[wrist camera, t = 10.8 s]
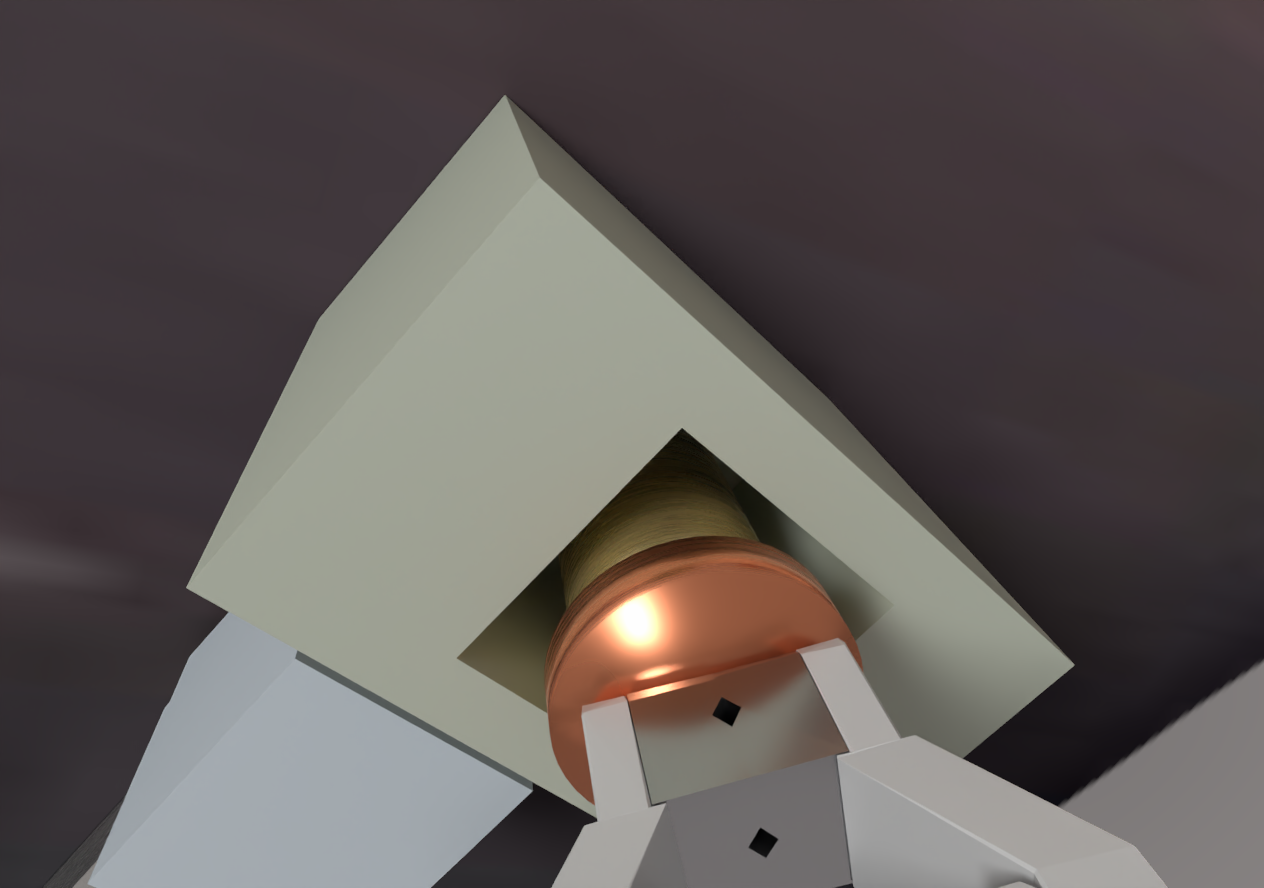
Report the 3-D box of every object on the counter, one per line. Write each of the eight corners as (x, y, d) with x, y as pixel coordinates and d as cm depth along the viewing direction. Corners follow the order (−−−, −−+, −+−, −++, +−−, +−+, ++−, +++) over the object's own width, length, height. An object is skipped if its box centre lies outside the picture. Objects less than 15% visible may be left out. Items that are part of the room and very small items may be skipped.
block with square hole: (666, 575, 23) (789, 925, 14) (318, 319, 19) (185, 588, 10) (838, 407, 22) (1089, 677, 13) (504, 94, 18) (539, 177, 9)
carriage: (364, 749, 23) (331, 981, 18) (187, 655, 21) (87, 884, 16) (516, 593, 22) (532, 790, 17) (343, 478, 20) (295, 658, 15)
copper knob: (634, 607, 16) (707, 870, 11) (476, 496, 15) (480, 742, 10) (778, 466, 16) (925, 682, 11) (626, 336, 14) (712, 513, 9)
